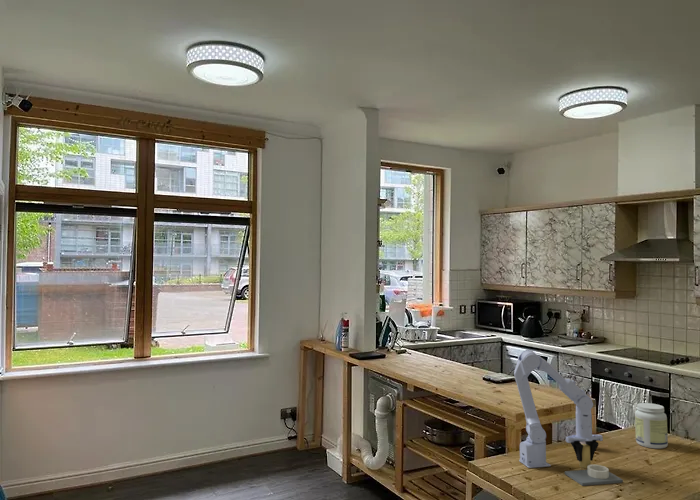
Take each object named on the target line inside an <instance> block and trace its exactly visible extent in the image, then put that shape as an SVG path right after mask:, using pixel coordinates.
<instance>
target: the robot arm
mask: <svg viewBox="0 0 700 500" xmlns="http://www.w3.org/2000/svg"><path fill="white" fill-rule="evenodd" d="M536 369H537V370H538V371H544V372H545V373H546V374H547V375H548V376H550V377H551V378H552V379H553V380H554V381H555V382H556V383H557V384H558V385H559V386H558V388H559V391H561V392H562V393H563V394H564V395H565V396H566V397H567V398H569V400H571V402H573V404H574V405H575V434H572V435H567V436H565V442H566V443H568V444H571V446H572V448H573V450H574V453H575V457H576V460H577V461H578V462H579V461H580V462H581V461H582V449H583V445H582V444H581V443H580V442H584V441H585V442H586V445H589V446H590V462H592V461H593V459H594V455H595V452H596V450H597V448H598V447H599V442H603V439H604V438H603V435H602V434H593V424H592V423H593V421H592V418H593V417H592V409H593V408H594V403H593V400H592V398H591V397H590V396H589V395H588V394H587V393H586V391H585V390H584V389H581V388H580V386H579V385H577V384H576V382H577V381H575V380H574V379H571V378H565V377H563V376H562V375H561V374H560V373H559V372H558V371H557V370H556V369H555V368H554V367H553V366H552V365H551V364H550V363H549V362H548V360H546V359H544V358H543V357H542V356H540V355H539V354H536V352H535V351H533V350H530V349H525V350H523V351H522V352H521V353H520V355H518V357H517V362H516V365H515V368H514V372H513V376H514V379H515V383H516V386H517V391H518V393H519V397H520V402H521V405H522V409H523V413H524V415H525V422H526V425H525V431H526V433H527V434H528V435H527V436H526V440H523V441H521V442H520V443H519V460H518V461H519V462H520V463H521V464H522V465H524V466H526V468H528V469H530V468H531V469H533V468H545V467H547V468H548V467H551V466H552V465H551V464H550V463H549V462H547V441H546V439H547V433H546V431H545V429H544V428H543V426H542V424H541V421H540V418H539V415H538V412H537V408H536V404H535V401H534V397H533V394H532V390H531V386H530V383H529V379H528V377H529V376H530V374H531V373H532V372H533V371H535V370H536Z"/></svg>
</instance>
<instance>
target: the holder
mask: <svg viewBox="0 0 700 500" xmlns="http://www.w3.org/2000/svg"><path fill="white" fill-rule="evenodd" d="M564 475H566V476H567V477H568V478H570V479H571V480H573V481H574V482H576V483H577V484H579V485H580V486H582V487H586V486H595V485H608V484H609V485H610V484H622V482H623V483H624V479H622V478H621V477H619V476H617V475H616V474H614V473H612V472H610V470H609V468H608V467H607V466H604V465H600V464H591V465H588V466H587V468H586V469H579V470H566V471H564Z"/></svg>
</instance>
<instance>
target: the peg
mask: <svg viewBox="0 0 700 500" xmlns="http://www.w3.org/2000/svg"><path fill="white" fill-rule="evenodd" d="M582 445H583V449H582V461H581V462H580V461H578V463H579V464H578V465H579V466H578V467H580V468H581V469H587V466H588V465H592V464H591V460H590V446H589V445H586V444H582Z"/></svg>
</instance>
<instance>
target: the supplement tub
mask: <svg viewBox="0 0 700 500" xmlns="http://www.w3.org/2000/svg"><path fill="white" fill-rule="evenodd" d="M634 425H635V426H634V428H635V429H634V430H635V441H636V442H635V443H636V444H638V445H639V446H642V447H644V448H648V449H649V448H650V449H665V448H667V447H668V445H669V441H668V440H669V439H668V438H669V437H668V417H667V414H666V413H665V407H664V406H663V405H660V404H658V403H657V404H656V403H651V402H640V403H637V404H636V410H635V412H634Z"/></svg>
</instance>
